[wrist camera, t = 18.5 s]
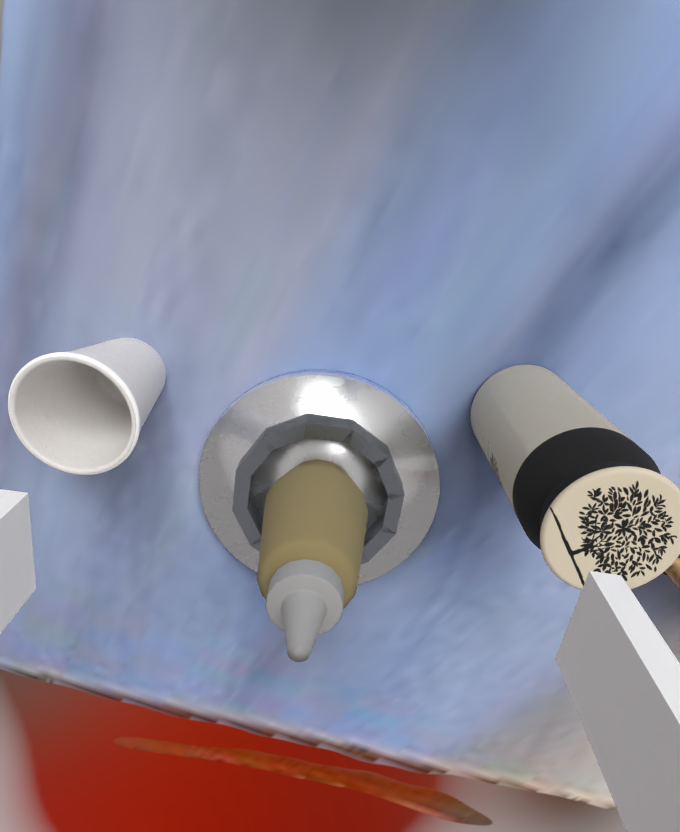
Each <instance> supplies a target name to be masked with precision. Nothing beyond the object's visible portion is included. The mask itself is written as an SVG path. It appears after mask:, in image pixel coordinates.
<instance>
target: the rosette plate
mask: <svg viewBox="0 0 680 832" xmlns="http://www.w3.org/2000/svg"><path fill="white" fill-rule="evenodd" d="M316 459H318V460H324V461H331V462H333V463H334V464H336V465H338V466H340V467H341V468H343V469H344V470H345V472H346V473H347V474H348V475H349V476H350V477H351V479H352V480H353V481H354V482H355V484H356V485H357V486H358V488H359V489H360V490H361V491H362V493H363V494H364V496H365V501H366V505H367V509H368V518H367V525H366V532H365V539H364V546H363V553H362V559H361V566H360V573H359V579H358V584H357V585H359V584H362V583H365V582H368V581H371V580H373V579H376V578H378V577H380V576H382V575H384V574H385V573H387V572H389V571H390V570H392V569H393V568H395V567H396V566H398V565H399V564H401V563H402V562H403V561H404V560H405V559H406V558H407V557H409V556H410V555H411V554H412V552H413V551H414V550H415V549H416V548H417V547H418V546H419V544H420V543H421V541H422V540H423V539H424V537H425V536H426V534H427V532H428V530H429V528H430V526H431V524H432V522H433V519H434V516H435V513H436V510H437V506H438V500H439V495H440V477H439V469H438V464H437V460H436V457H435V453H434V450H433V447H432V444H431V442H430V439H429V437H428V435H427V433H426V431H425V429H424V427H423V426H422V424H421V423H420V421H419V420H418V418H417V417H416V416H415V415H414V413H413V412H412V411H411V410H410V409H409V407H408V406H406V405H405V404H404V403H403V402H402V401H401V400H400V399H399V398H398V397H396V396H395V395H394V394H392V393H391V392H389V391H388V390H386V389H385V388H383V387H381V386H379V385H377V384H375V383H373V382H372V381H370V380H367V379H364V378H361V377H359V376H356V375H353V374H348V373H343V372H339V371H330V370H303V371H297V372H291V373H287V374H283V375H280V376H277V377H273V378H271V379H269V380H267V381H264V382H262V383H260V384H258V385H256V386H255V387H253V388H252V389H250V390H248V391H247V392H245V393H244V394H243V395H242V396H240V397H239V398H238V399H237V400H236V401H234V402H233V403H232V404H231V406H230V407H229V408H228V409H227V410H226V411H225V412H224V413H223V415H222V416H221V418H220V419H219V421H218V422H217V424H216V425H215V427H214V429H213V430H212V432H211V434H210V436H209V438H208V440H207V442H206V445H205V447H204V451H203V454H202V457H201V462H200V469H199V491H200V497H201V503H202V506H203V509H204V512H205V515H206V518H207V520H208V522H209V524H210V526H211V528H212V530H213V531H214V533H215V534H216V536H217V538H218V539H219V540H220V542H221V543H222V544H223V545H224V546H225V548H226V549H227V550H228V551H229V552H230V553H231V554H232V555H233V556H234V557H235V558H237V559H238V560H239V561H240V562H242V563H243V564H244V565H246V566H247V567H248V568H250V569H251V570H253V571H255V572H257V573H258V564H259V554H260V544H261V534H262V524H263V514H264V507H265V500H266V495H267V494H268V492H269V491H270V489H271V488H272V486H273V485H274V483H275V482H276V480H278V479H279V478H280V477H282V476H283V475H285V474H286V473H287V472H289V471H290V470H291V469H293V468H295V467H296V466H298V465H299V464H301V463H302V462H306V461H311V460H316Z"/></svg>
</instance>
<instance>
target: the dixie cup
mask: <svg viewBox="0 0 680 832" xmlns="http://www.w3.org/2000/svg"><path fill="white" fill-rule="evenodd" d="M165 381H166V370H165V366H164V363H163V361H162V359H161V357H160V356H159V354H158V353H157V352H156V351H155V350H154V349H153V348H152V347H151V346H149V345H148V344H146V343H145V342H143V341H140V340H138V339H134V338H118V339H114V340H109V341H105V342H103V343H99V344H96V345H92V346H88V347H85V348H81V349H77V350H73V351H70V352H56V353H50V354H46V355H42V356H40V357H37V358H35V359H33V360H32V361H30V362H29V363H27V364H26V365H25V366H24V367H23V368H22V369H21V370H20V371H19V372H18V373H17V375H16V376H15V378H14V380H13V382H12V384H11V387H10V391H9V396H8V411H9V416H10V420H11V423H12V426H13V428H14V430H15V432H16V434H17V436H18V438H19V439H20V441H21V442H22V443H23V445H24V446H25V447H26V448H27V449H28V450H29V451H30V452H31V453H32V454H33V455H34V456H35V457H37V458H38V459H39V460H41V461H42V462H44V463H45V464H47V465H49V466H51V467H53V468H55V469H57V470H60V471H63V472H67V473H71V474H77V475H93V474H99V473H103V472H106V471H109V470H111V469H113V468H115V467H117V466H118V465H120V464H121V463H122V462H123V461H125V460H126V459H127V458H128V456H129V455H130V454H131V453H132V451H133V449H134V448H135V446H136V443H137V441H138V437H139V433H140V430H141V428H142V426H143V424H144V423H145V421H146V419H147V417H148V415H149V414H150V412H151V410H152V408H153V406H154V404H155V403H156V401H157V399H158V397H159V395H160V394H161V392H162V390H163V388H164V385H165Z"/></svg>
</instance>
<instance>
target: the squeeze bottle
mask: <svg viewBox="0 0 680 832" xmlns="http://www.w3.org/2000/svg"><path fill="white" fill-rule="evenodd" d="M367 518H368V509H367V505H366V501H365V496H364V494H363V493H362V491H361V490H360V489H359V488H358V486H357V485H356V484H355V482H354V481H353V480H352V479H351V477H350V476H349V475H348V474H347V473H346V472H345V470H344V469H343V468H341V467H340V466H338V465H336V464H334V463H333V462H331V461H324V460H318V459H316V460H311V461H306V462H302V463H301V464H299V465H298V466H296V467H295V468H293V469H291V470H290V471H289V472H287V473H286V474H285V475H283V476H282V477H280V478H279V479H278V480H276V482H275V483H274V485H273V486H272V488H271V489H270V491H269V492H268V494H267V495H266V500H265V507H264V514H263V524H262V534H261V544H260V554H259V564H258V575H257V581H258V584H259V587H260V590H261V593H262V595H263V597H264V598H265V599H266V609H267V612H268V615H269V618H270V619H271V620H272V622H273V623H274V624H275V625H276V626H277V627H278V628H279V629H281V630H283V631H285V638H286V645H287V652H288V656H289V658H290V659H291V660H293V661H296V662H303V661H305V660H307V659H308V657H309V655H310V653H311V650H312V648H313V645H314V643H315V640H316V638H317V635H321V634H323V633H325V632H327V631H328V630H330V629H332V628H333V627H334V626H335V625H336V623H337V622H338V621H339V620H340V618H341V615H342V611H343V609H344V608H345V607H346V606H347V604H348V603H349V602H350V601H351V599H352V598H353V597H354V595H355V593H356V589H357V584H358V579H359V573H360V566H361V559H362V553H363V546H364V539H365V532H366V525H367Z"/></svg>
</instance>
